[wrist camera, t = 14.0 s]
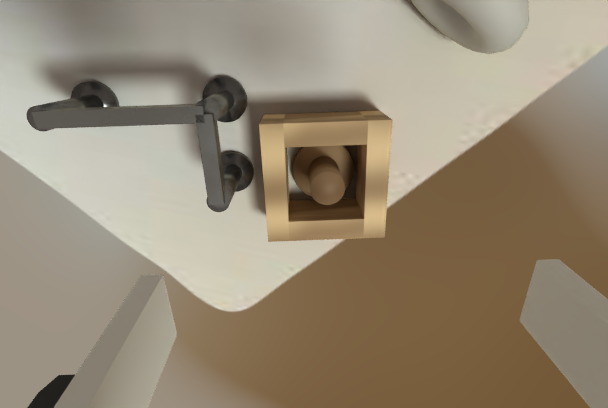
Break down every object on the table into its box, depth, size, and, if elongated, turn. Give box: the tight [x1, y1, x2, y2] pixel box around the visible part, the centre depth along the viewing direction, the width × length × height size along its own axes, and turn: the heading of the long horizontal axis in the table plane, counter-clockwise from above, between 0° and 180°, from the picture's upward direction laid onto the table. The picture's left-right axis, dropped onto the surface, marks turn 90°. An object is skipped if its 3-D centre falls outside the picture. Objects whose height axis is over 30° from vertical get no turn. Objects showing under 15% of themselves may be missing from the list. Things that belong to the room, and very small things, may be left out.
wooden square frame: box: [259, 110, 392, 242], centre depth 34 cm, size 11×11×5 cm
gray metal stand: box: [27, 77, 254, 212], centre depth 30 cm, size 11×16×9 cm
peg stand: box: [293, 145, 354, 205], centre depth 33 cm, size 6×6×6 cm
